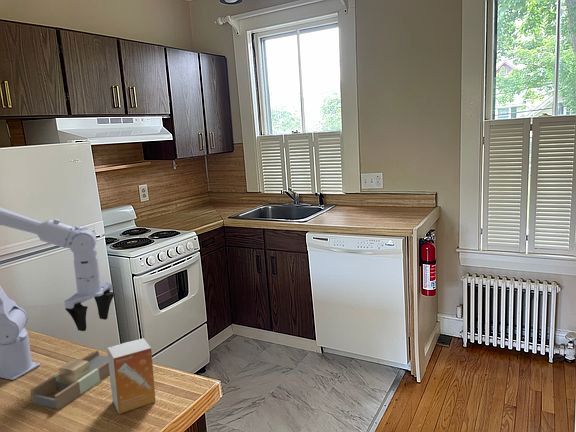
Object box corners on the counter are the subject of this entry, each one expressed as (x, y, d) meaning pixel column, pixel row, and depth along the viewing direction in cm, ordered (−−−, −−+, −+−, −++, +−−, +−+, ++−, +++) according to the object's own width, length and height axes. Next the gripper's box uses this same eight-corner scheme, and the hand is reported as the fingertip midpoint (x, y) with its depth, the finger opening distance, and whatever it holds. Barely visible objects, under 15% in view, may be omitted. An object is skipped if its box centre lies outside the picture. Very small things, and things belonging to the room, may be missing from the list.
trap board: (32, 403, 99) (30, 390, 98) (97, 361, 117) (95, 350, 116) (58, 409, 96) (57, 396, 95) (121, 366, 114) (120, 354, 113)
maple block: (60, 381, 104) (59, 367, 103) (76, 371, 108) (74, 358, 107) (75, 384, 102) (73, 370, 101) (90, 374, 106) (88, 361, 106)
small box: (118, 415, 93) (112, 358, 91) (112, 401, 98) (106, 347, 96) (156, 402, 97) (151, 347, 95) (148, 389, 103) (143, 337, 100)
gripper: (77, 285, 107) (83, 337, 109) (119, 268, 121) (124, 315, 123) (55, 283, 110) (62, 334, 112) (99, 267, 123) (104, 312, 125)
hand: (93, 324), depth 118 cm, fingers open, 7 cm apart
